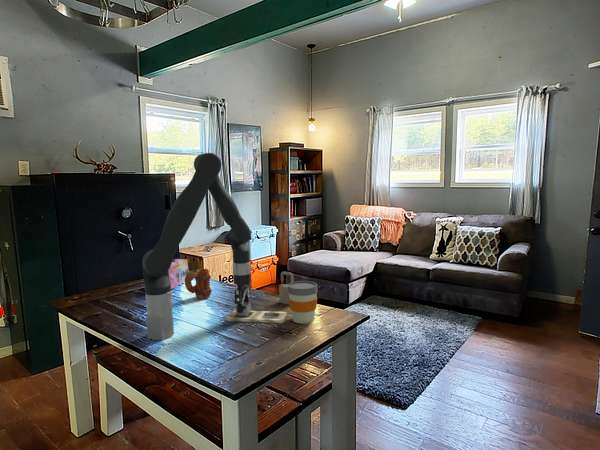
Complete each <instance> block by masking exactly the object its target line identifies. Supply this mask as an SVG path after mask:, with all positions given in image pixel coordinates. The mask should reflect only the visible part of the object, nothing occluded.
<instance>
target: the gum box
mask: <svg viewBox="0 0 600 450" xmlns="http://www.w3.org/2000/svg"><path fill="white" fill-rule="evenodd" d="M188 261H189V260H188V258H185V259H183V258H182V259H181V258H180V257H179V258H173V261H172V263H171V266H170V268H169V270H168V271H169V279H170V284H171V289H172V288H174V287H176V286H178V285H179V284H181V283H183V282H185V276H186V274H187V273H188V272H189V271H190V270H189V263H188ZM178 287H179V286H178Z"/></svg>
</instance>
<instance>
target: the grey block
mask: <svg viewBox="0 0 600 450" xmlns="http://www.w3.org/2000/svg"><path fill="white" fill-rule="evenodd" d="M251 307H252V305H251V301H249V302H244V301H243V312H242V313H238V311H237V304H235V310H236V317H241V318H249V317H250V316H251V311H252V308H251Z"/></svg>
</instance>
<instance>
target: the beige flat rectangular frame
mask: <svg viewBox="0 0 600 450" xmlns="http://www.w3.org/2000/svg"><path fill="white" fill-rule="evenodd" d="M287 316H288V312H287V311H270V310H269V311H268V310H251V316H250V317H249V318H241V317H236V309H235V310H233V311H232V312H231V313H230V314H229V315H228V316H227V317H226V320H225V321H226V322H240V323H242V322H244V323H245V322H246V323H247V322H248V323H269V324H272V323H273V324H283V323H284V322H285V319H286V317H287Z"/></svg>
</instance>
